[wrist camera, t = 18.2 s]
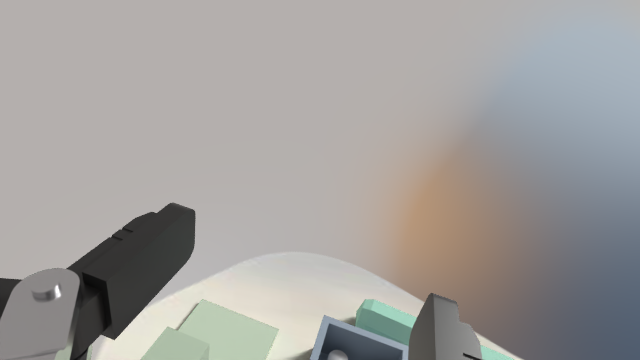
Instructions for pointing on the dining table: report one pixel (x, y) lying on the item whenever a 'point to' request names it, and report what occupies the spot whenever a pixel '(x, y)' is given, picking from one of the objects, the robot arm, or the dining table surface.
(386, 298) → the dining table surface
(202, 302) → the lid
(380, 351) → the tub
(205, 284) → the dining table surface
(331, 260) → the dining table surface
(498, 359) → the mint green bar
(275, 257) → the dining table surface
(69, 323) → the robot arm
